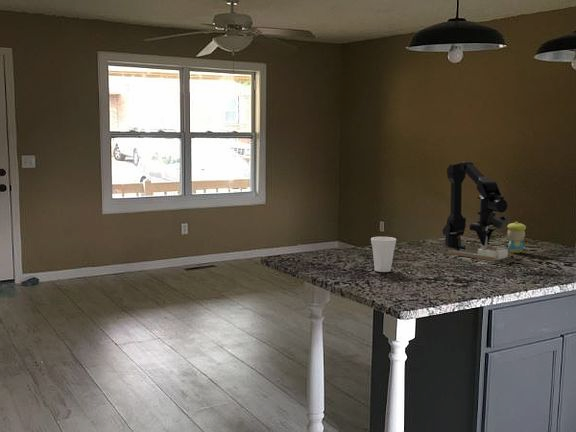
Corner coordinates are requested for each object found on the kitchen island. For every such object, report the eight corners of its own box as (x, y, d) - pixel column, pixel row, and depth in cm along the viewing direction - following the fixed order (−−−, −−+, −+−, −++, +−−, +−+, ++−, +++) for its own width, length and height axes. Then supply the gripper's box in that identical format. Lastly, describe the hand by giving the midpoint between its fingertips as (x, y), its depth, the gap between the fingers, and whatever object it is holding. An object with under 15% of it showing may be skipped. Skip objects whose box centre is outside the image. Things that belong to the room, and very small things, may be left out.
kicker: (477, 254, 278) (478, 236, 277) (481, 253, 280) (482, 235, 279) (485, 256, 275) (486, 237, 274) (489, 255, 277) (490, 236, 276)
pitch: (447, 255, 281) (447, 250, 281) (466, 250, 293) (466, 246, 292) (493, 262, 266) (493, 257, 266) (511, 257, 277) (511, 252, 277)
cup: (365, 269, 251) (366, 237, 249) (386, 267, 255) (387, 235, 253) (378, 274, 242) (379, 241, 240) (400, 272, 245) (401, 239, 244)
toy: (521, 252, 290) (523, 220, 288) (526, 256, 281) (528, 223, 279) (503, 251, 291) (505, 219, 289) (508, 255, 282) (510, 222, 280)
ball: (494, 249, 272) (494, 257, 272) (498, 248, 274) (498, 256, 274) (487, 249, 274) (487, 257, 274) (491, 248, 277) (491, 256, 277)
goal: (486, 258, 271) (486, 250, 271) (497, 255, 278) (497, 247, 278) (496, 260, 268) (497, 252, 267) (507, 257, 275) (508, 249, 274)
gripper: (493, 213, 262) (491, 250, 264) (514, 209, 275) (512, 244, 277) (469, 210, 270) (467, 246, 272) (490, 207, 283) (488, 241, 285)
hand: (485, 245), depth 277 cm, fingers closed on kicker, 2 cm apart
